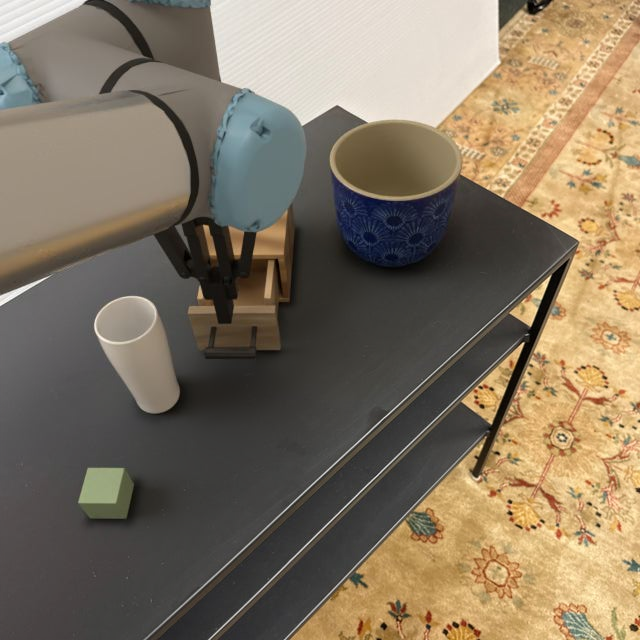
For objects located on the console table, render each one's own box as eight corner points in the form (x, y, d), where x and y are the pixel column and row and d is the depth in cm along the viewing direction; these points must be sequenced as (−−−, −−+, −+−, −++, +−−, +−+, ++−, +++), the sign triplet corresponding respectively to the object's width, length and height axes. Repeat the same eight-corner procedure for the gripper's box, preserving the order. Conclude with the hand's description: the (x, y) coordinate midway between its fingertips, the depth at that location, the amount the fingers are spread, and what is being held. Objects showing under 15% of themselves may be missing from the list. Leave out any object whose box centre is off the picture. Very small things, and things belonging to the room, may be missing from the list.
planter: (349, 296, 88) (349, 210, 76) (320, 216, 99) (315, 130, 87) (466, 272, 90) (483, 184, 78) (426, 196, 101) (435, 109, 89)
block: (89, 518, 69) (77, 503, 66) (99, 483, 72) (87, 467, 69) (126, 519, 69) (116, 503, 66) (134, 484, 72) (124, 467, 69)
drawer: (277, 379, 79) (272, 343, 73) (193, 379, 79) (181, 343, 74) (286, 272, 90) (282, 234, 85) (212, 273, 91) (203, 235, 85)
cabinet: (289, 302, 88) (283, 254, 81) (205, 302, 88) (192, 255, 81) (294, 229, 97) (290, 180, 90) (218, 230, 98) (208, 181, 91)
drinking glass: (133, 377, 81) (96, 298, 69) (187, 371, 81) (159, 291, 70) (129, 424, 77) (89, 348, 65) (186, 417, 77) (156, 340, 65)
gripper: (265, 112, 58) (284, 290, 76) (122, 115, 59) (175, 290, 77) (257, 163, 53) (280, 340, 71) (102, 165, 54) (164, 340, 72)
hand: (226, 314), depth 74 cm, fingers closed
